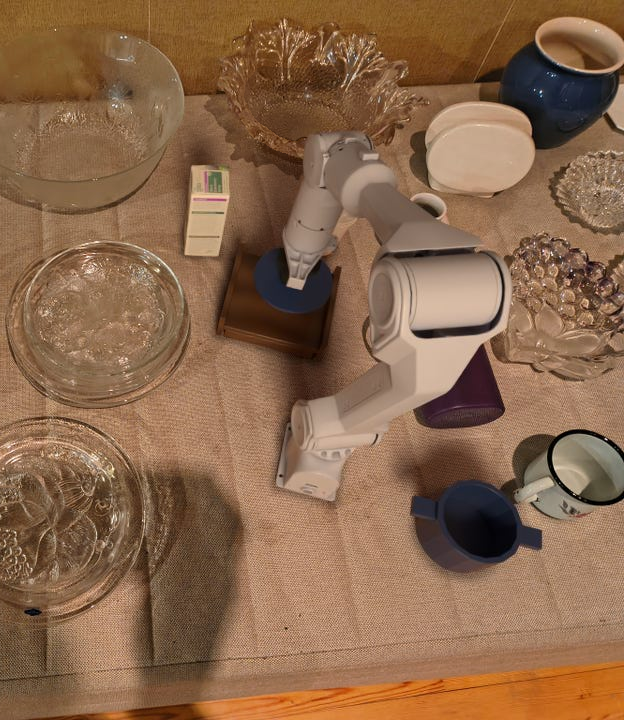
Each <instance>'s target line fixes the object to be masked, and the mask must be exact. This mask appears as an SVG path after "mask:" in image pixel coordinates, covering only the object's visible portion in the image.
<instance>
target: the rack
mask: <svg viewBox="0 0 624 720" xmlns="http://www.w3.org/2000/svg"><path fill="white" fill-rule="evenodd" d="M245 247H246V243H245V242H243V241H242V242H241V241H240V242H239V246H238V250H237V254H236V257H235V261H234V265H233V267H232V272H231V276H230V279H229V284H228V288H227V291H226V294H225V298H224V302H223V305H222V310H221V312H220V317H219V321H218V324H217V329H216V333H215V335H216V336H220V337H221V336H222V333H223V330H224V333H223V337H224V338H228V339H232V340H235V341H239V342H243V343H247V344H251V345H255V346H258V347H263V348H267V349H271V350H274V351H279V352H281V353H285V354H290V355H295V356H297V357H301V358H306V359H308V360H311V359H312V357H313V361H316V362H320V359H321V358H322V356H323V354H324V352H325V351H326V350H327V348H328V346H329V340H330V336H331V330H332V324H333V318H334V313H335V306H336V303H337V302H336V301H337V296H338V290H339V284H340V279H341V273H342V266H339V265H336V266H335V267H334V270H333V272H331V275H332V279H333V289H332V292H331V295H330V297H329V299H328V300H327V301H326V303H325V304H324V305H323V306H321V307H320V308H318V309H316V310H314V311H312V312H309V313H303V314H292V313H287V312H283V311H280V310H278V309H276V308H274V307H272V306H271V305H269V304H268V303H267V302H266V301H264V300H263V299H262V297H261V296H260V295H259V293H258V291H257V289H256V287H255V284H254V270H255V267H256V264H257V262H258V261H259V259H260V258H261V257H262V256H263V255H260V254H255V253H253V252H252V253H251V252H248V251H245Z"/></svg>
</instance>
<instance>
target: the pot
mask: <svg viewBox="0 0 624 720" xmlns="http://www.w3.org/2000/svg"><path fill="white" fill-rule="evenodd" d="M409 515H410V516H411V517H415V518H416V519H415V532H416V537H417V539H418V542H419V545H420V547H421V548H422V551H424V553H425V554H426V556H427V557H428V558H429V559H430V560H431V561H433V562H434V564H436V565H437V566H439V567H441V568H442V569H445V570H447V571H450V572H452V573H456V574H471V573H475V572H479V571H482V570H486V569H488V568H491V567H494V566H496V565H499V564H502V563H504V562H506V561H507V560H509V559H511V558H512V557H514V556H515V555H516V554H517V552H518V549H519V547H523V548H527V549H530V550H533V551H536V552H538V551H541V550H543V530H542V529H539V528H536V527H532V526H528V525H525V524H523V521H522V519H521V516H520V513H519V510H518V508H517V506H516V505H515V504H514V502H513V501H512V500H511V499H510V498H509V496H508V495H507V494H506V493H505V492H504V491H502V490H501V489H499V488H498V487H496V486H495V485H493V484H491V483H489V482H485V481H483V480H479V479H474V478H472V479H471V478H470V479H462V480H457V481H455V482H454V483H452V484H451V485H449V486H447V487H446V488H444V489H442V490H441V491H440V492H438V493H436V494H435V495H434V496H432V497H430V498H427V497H423V496H420V495H416V494H414V495H413V496H411V500H410V511H409Z"/></svg>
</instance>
